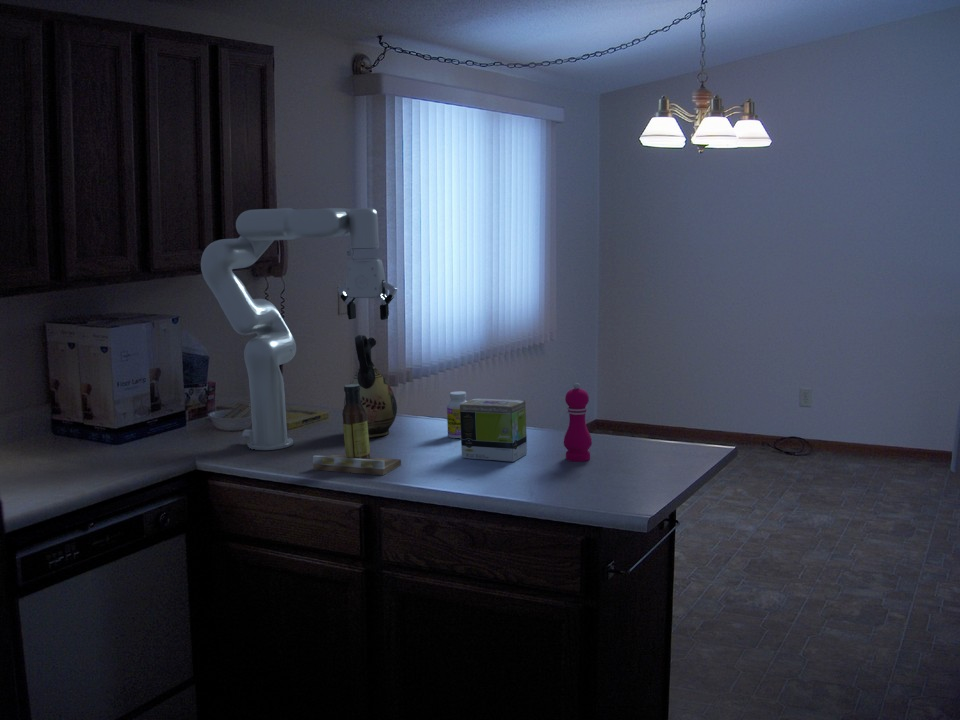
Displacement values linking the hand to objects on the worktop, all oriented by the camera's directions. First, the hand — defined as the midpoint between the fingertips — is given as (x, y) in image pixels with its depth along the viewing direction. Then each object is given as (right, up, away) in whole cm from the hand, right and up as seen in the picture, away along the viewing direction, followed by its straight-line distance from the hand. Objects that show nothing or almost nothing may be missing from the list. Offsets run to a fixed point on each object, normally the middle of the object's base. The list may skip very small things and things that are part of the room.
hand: (368, 319), depth 269 cm
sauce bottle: (-1, -37, -11) cm, 39 cm away
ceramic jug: (-2, -33, +25) cm, 41 cm away
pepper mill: (+55, -37, -10) cm, 67 cm away
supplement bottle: (+24, -33, +20) cm, 46 cm away
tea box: (+34, -37, -4) cm, 50 cm away
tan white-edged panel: (-1, -39, -12) cm, 40 cm away
